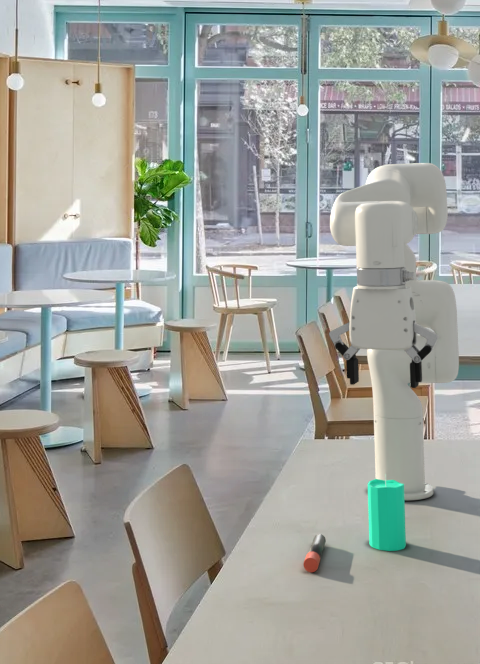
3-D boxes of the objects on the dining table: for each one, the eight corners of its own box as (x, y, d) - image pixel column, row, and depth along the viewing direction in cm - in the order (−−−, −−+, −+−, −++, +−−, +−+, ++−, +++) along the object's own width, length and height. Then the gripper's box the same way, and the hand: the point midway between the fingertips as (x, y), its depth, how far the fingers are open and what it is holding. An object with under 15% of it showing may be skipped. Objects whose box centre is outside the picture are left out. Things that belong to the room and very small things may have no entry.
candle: (407, 551, 170) (405, 479, 170) (370, 550, 171) (368, 478, 171) (404, 540, 176) (402, 470, 176) (368, 538, 177) (366, 469, 177)
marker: (313, 543, 175) (313, 530, 175) (327, 544, 175) (327, 531, 175) (303, 571, 162) (303, 557, 162) (318, 573, 161) (317, 558, 161)
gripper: (440, 277, 165) (443, 384, 164) (334, 277, 173) (337, 378, 172) (431, 281, 158) (435, 392, 158) (321, 280, 166) (325, 386, 166)
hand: (384, 384), depth 165 cm, fingers open, 9 cm apart
